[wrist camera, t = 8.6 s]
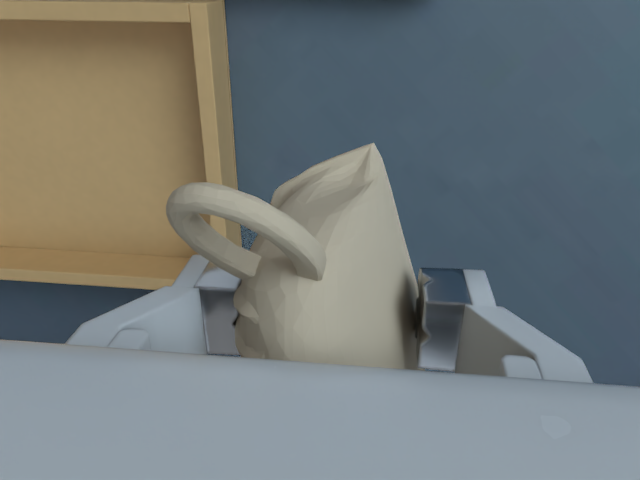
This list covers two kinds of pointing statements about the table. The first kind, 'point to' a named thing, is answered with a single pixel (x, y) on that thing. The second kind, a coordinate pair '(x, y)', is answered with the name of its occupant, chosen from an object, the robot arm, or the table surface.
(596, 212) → the table surface
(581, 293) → the table surface
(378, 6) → the table surface
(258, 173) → the table surface
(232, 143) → the tray
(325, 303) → the decorative ornament
